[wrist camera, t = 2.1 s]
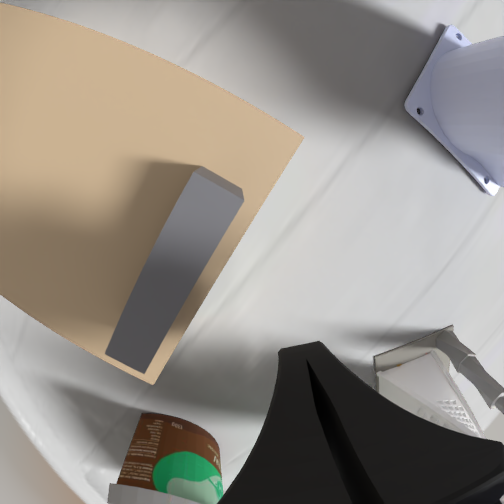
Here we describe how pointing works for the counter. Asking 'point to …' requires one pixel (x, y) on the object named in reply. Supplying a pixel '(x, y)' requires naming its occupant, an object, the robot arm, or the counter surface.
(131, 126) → the lid
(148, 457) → the food container
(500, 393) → the skyscraper
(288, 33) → the counter surface
